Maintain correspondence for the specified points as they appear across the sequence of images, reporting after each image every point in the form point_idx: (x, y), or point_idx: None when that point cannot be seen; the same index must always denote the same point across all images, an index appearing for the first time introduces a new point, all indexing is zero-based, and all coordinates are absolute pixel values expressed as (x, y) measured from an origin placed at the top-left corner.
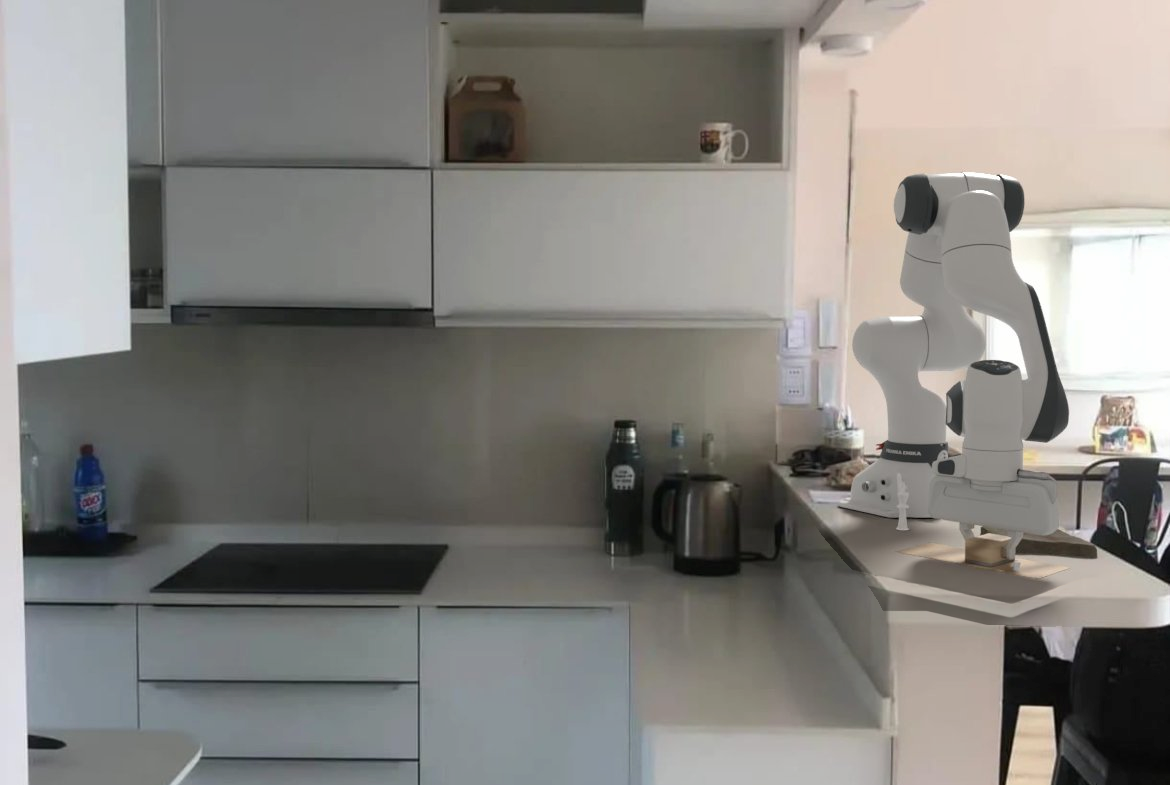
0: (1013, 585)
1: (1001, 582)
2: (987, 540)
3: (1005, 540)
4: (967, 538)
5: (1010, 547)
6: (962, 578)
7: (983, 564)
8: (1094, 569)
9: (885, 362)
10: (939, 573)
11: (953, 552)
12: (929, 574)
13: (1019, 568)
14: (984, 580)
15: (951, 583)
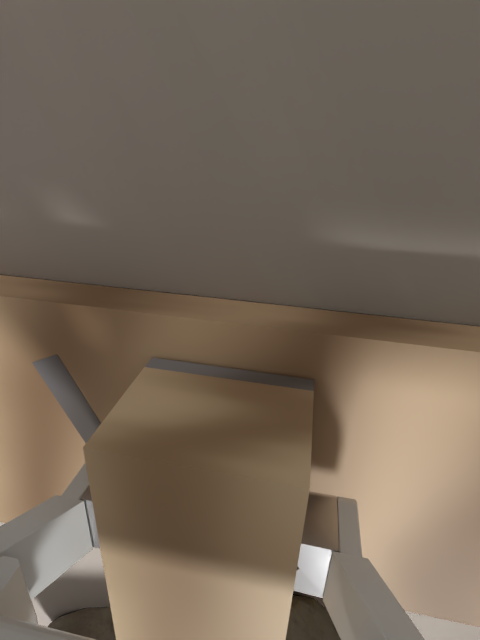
0: (29, 258)
1: (92, 275)
2: (171, 528)
3: (105, 573)
4: (350, 571)
5: (50, 498)
6: (263, 218)
7: (195, 365)
8: (38, 595)
9: None
10: (423, 238)
11: (462, 542)
12: (472, 167)
13: (65, 413)
14: (163, 258)
15: (252, 37)
